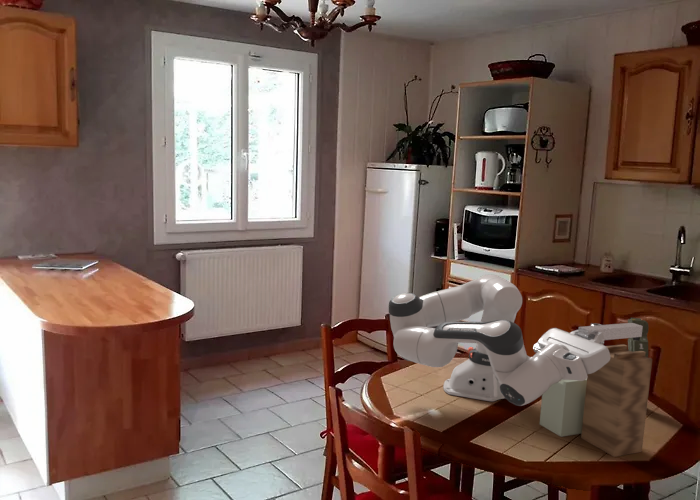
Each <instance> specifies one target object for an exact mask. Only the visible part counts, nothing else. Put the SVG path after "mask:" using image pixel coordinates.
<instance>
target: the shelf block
mask: <svg viewBox="0 0 700 500" xmlns="http://www.w3.org/2000/svg"><path fill="white" fill-rule="evenodd" d="M586 384H587V379H586V380H584V381H577V380H563V379H562V380H560V381H559V382H558V383H555V384H553V385H551V386H550V388H549V389H548V390H547V391H546V392H545V393H544V394H542V395H541V405H540V415H539V426H542V427H544V429H547V430H549V431H550V432H552V433H553V434H555V435H557V436H558V437H569V436H573V435H574V436H575V435H579V434H580V435H582V425H583V415H584V405H585V394H586Z"/></svg>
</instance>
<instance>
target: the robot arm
mask: <svg viewBox="0 0 700 500" xmlns="http://www.w3.org/2000/svg"><path fill="white" fill-rule="evenodd" d="M522 305H523V296H522V294H521V291H520V290H519V289H518V287H517V286H516V285H515V284H514V283H512V282H511V281H508V280H507V279H504V278H503V277H501V276H499V275H497V274H483V275H482V276H480V277H477V278H476V279H473V280H470V281H468V282H466V283H464V284H460V285H457V286H454V287H449V288H445V289H441V290H438V291H433V292H430V293H429V292H428V293H427V294H424V295H420V296H419V295H416V294H414V293H409V292H404V293H399V294H396V295H394V296H393V297H392V298H391V299H390V300H389V302H388V313H389V321H390V328H391V331H392V335H393V349H394V351H395V352H396V354H397V355H398V356H400V358H401V359H403V360H405V361H407V362H412V363H416V364H419V365H423V366H426V367H431V368H443V367H445V366H447V365H448V364H450V363H451V362H452V360H453V359H454V358H455V355H456V354H457V351H458V348H459V347H458V346H459V343H464V344H475V348H474V347H472V346H470V347H468V348H467V352H468V354H469V355H468V359H466V360H465V361H463V362H462V363H459V364H458V365H456V366H455V367H454V368H453V370H452V372H451V375H450V378H447V379H446V380H444V382H443V391H444V392H445V393H447V394H448V395H450V396H456V397H457V396H458V397H464V398H469V399H474V400H481V401H487V402H496V401H497V400H501V399H502V400H503V399H505V400H507V401H508V403H511V404H512V405H514V406H518V407H522V406H525V405H527V404H530V403H532V402H534V401H536V400H537V399H538V398H540V397H542V394H544V393H545V392H546V391H547V390H548V389H549V388H550V386H551V385H553V384H555V383H558V382H559V381H560V380H562V379H563V380H577V381H584V380H586V379H587V378H588V376H587V374H591V373H594V372H596V371H597V370H599V369H600V368H602V367H603V366H604V365H605V364H607V363H608V362H609V361H610V358H611V356H610V353H609V350H608V348H607V347H606V346H607V345H604V344H603V345H601V344H599V343H600V341H601V340H602V339H603V338H604V335H603V333H601V332H596V333H595V334H594V337H595V338H594V339H591V340H587V339H585V338H582V337H579V336H578V330H579V329H576V330H573V331H571V332H568V331H566V330H563V329H560V328H557V327H551V328H549V329H548V330H547V331H546V332H544V333H543V334H542V335H541V337H540V338H539V339H538V341H537V342H536V343H534V344H533V347H532V349H533V352H534V353H535V354H534V355H533V356H529V355H527V351H526V348H525V345H524V344H525V343H524V339H523V332H522V329H521V327H520V326H519V325H518V324H516V323H515V320H516V316H517V313H518V312H519V310H520V309H521V307H522ZM482 311H483V313H482V315H481V319H480V321H465V320H468V319H470V317H472V316H473V315H475V314H477V313H479V312H482Z"/></svg>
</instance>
